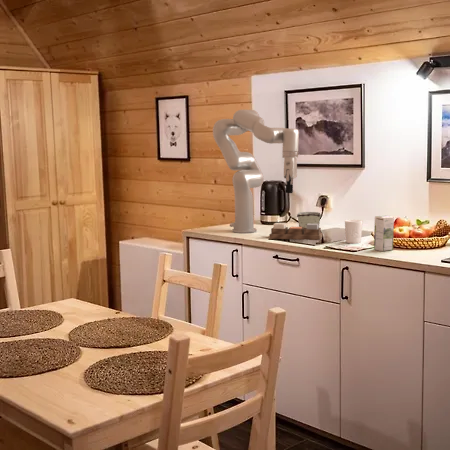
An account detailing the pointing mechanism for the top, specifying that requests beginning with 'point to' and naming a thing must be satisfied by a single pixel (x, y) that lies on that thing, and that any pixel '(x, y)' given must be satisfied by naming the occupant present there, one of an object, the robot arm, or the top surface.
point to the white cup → (353, 231)
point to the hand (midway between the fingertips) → (289, 192)
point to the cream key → (279, 225)
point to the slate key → (312, 226)
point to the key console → (296, 234)
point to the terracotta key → (296, 228)
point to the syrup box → (383, 233)
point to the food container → (308, 218)
